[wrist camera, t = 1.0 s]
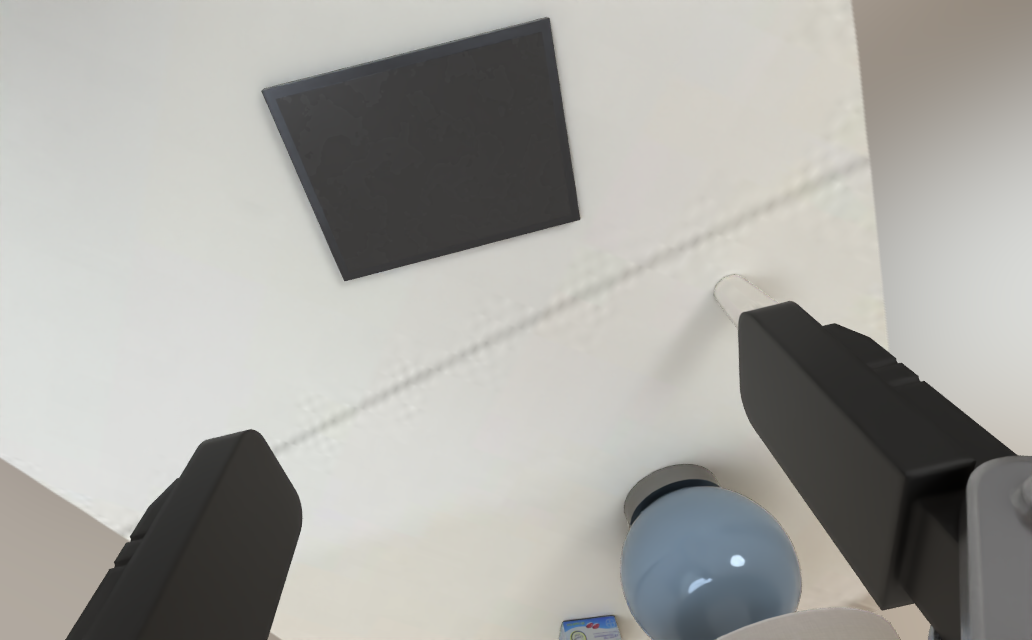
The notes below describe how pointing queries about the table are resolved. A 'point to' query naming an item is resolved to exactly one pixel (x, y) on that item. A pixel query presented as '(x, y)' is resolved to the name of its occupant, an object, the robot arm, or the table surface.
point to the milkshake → (740, 297)
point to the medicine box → (591, 629)
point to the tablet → (432, 148)
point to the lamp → (720, 568)
